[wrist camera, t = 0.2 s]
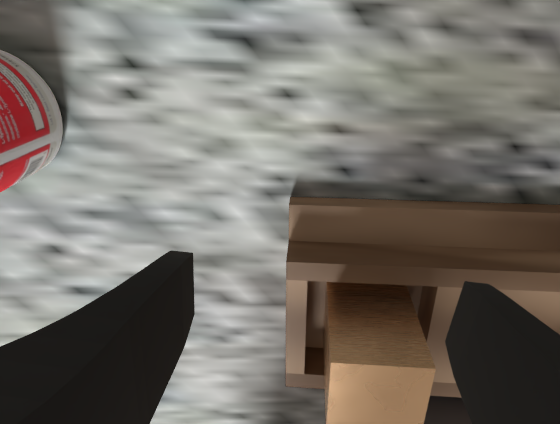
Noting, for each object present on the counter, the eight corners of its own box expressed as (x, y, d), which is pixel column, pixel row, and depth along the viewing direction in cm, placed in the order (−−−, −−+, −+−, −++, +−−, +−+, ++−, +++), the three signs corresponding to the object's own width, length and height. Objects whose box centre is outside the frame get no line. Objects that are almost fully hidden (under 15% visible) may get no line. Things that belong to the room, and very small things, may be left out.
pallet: (551, 386, 24) (582, 435, 21) (288, 370, 25) (285, 414, 23) (622, 206, 19) (677, 238, 16) (290, 196, 20) (286, 225, 17)
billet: (394, 338, 22) (420, 438, 17) (323, 334, 23) (325, 431, 17) (404, 278, 21) (435, 368, 15) (326, 275, 21) (330, 362, 16)
